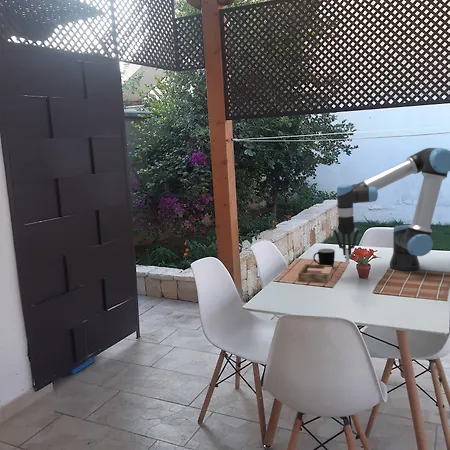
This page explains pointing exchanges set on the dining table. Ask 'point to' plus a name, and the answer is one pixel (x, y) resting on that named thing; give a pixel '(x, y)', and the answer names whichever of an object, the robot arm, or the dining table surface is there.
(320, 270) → the block
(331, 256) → the mug
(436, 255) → the dining table surface
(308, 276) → the pocket
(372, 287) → the dining table surface
